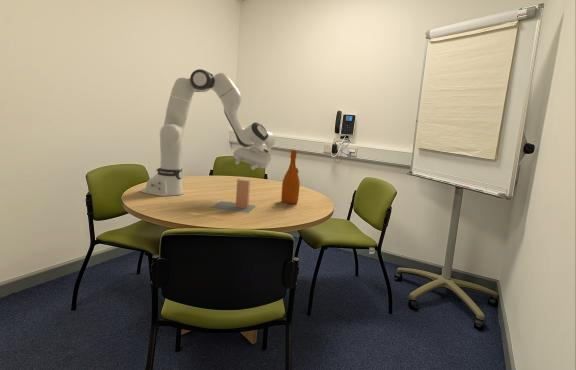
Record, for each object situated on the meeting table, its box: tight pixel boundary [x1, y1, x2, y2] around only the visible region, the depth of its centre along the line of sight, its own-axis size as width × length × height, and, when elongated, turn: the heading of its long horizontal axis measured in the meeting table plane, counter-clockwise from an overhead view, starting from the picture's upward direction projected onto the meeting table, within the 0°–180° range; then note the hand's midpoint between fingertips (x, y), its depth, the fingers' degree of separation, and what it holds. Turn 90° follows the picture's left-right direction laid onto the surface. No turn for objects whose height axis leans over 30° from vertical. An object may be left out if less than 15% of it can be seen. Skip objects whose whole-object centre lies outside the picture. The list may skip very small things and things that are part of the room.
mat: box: [209, 200, 257, 214], centre depth 180 cm, size 20×15×1 cm
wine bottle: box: [280, 149, 301, 205], centre depth 199 cm, size 10×10×30 cm
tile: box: [235, 179, 251, 208], centre depth 179 cm, size 6×2×14 cm, turn 79°
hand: (244, 165), depth 187 cm, fingers open, 8 cm apart
